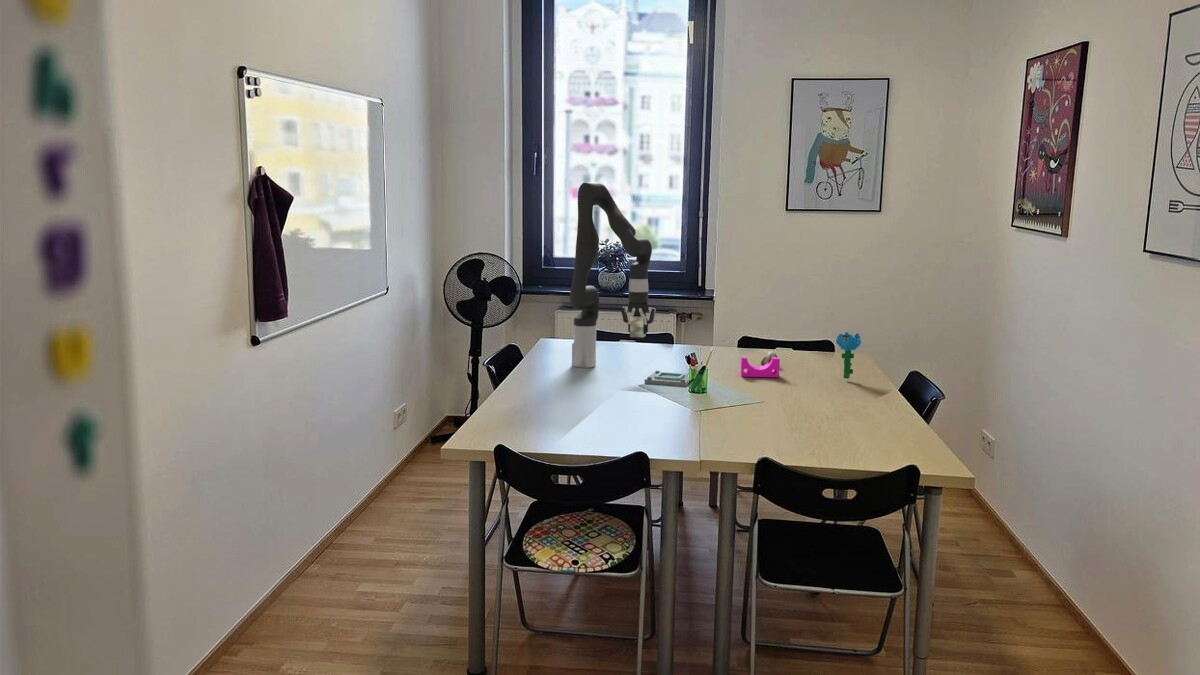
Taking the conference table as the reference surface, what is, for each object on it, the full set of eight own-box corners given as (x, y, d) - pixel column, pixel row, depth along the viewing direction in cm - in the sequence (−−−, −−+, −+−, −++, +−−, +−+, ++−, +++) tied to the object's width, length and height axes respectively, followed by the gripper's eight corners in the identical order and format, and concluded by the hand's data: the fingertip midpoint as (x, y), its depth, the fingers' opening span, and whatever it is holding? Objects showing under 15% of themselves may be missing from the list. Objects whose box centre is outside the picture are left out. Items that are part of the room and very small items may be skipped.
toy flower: (831, 378, 359) (833, 333, 357) (840, 374, 367) (842, 331, 364) (853, 381, 354) (855, 336, 351) (861, 377, 361) (864, 333, 358)
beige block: (630, 336, 350) (630, 316, 349) (633, 335, 354) (633, 315, 353) (642, 337, 348) (642, 317, 347) (645, 335, 353) (646, 315, 352)
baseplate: (644, 383, 345) (644, 377, 344) (654, 375, 360) (654, 370, 360) (685, 386, 340) (685, 380, 340) (694, 378, 355) (694, 372, 355)
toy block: (776, 374, 367) (777, 356, 366) (778, 377, 361) (779, 359, 360) (739, 373, 368) (740, 355, 367) (741, 376, 362) (742, 358, 361)
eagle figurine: (772, 371, 386) (767, 373, 378) (761, 359, 388) (755, 360, 380) (785, 359, 384) (780, 361, 376) (774, 347, 386) (768, 348, 378)
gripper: (618, 290, 347) (617, 334, 350) (654, 291, 343) (653, 336, 345) (623, 289, 354) (623, 331, 357) (658, 290, 350) (658, 333, 352)
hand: (638, 333), depth 351 cm, fingers closed on beige block, 5 cm apart
